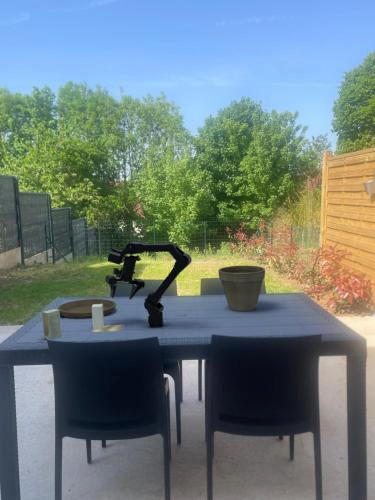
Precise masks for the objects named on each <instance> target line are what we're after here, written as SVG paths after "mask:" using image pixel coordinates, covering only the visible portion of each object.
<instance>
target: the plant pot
mask: <svg viewBox="0 0 375 500" xmlns="http://www.w3.org/2000/svg"><path fill="white" fill-rule="evenodd" d="M265 277H266V268H264V267H263V266H258V265H257V266H256V265H230V266H224V267H221V268H219V269H218V279H219V280H220V281H221V285H222V288H223V289H222V290H223V292H224V296H225V300H226V302H227V306H228V308H229V309H230V310H231V311H235V312H250V311H253V310H256V309H257V307H258V302H259V298H260V295H261V290H262V285H263V283H264V282H263V281H264V279H265Z"/></svg>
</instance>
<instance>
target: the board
mask: <svg viewBox="0 0 375 500" xmlns="http://www.w3.org/2000/svg"><path fill="white" fill-rule="evenodd" d="M125 326H126V325H125V324H107V325H105V324H104V327H103V329H93V328H92V330H91V332H92V333H97V332H100V333H101V332H102V333H103V332H104V333H105V332H122V331H123V330H124V328H125Z"/></svg>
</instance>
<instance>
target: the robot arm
mask: <svg viewBox="0 0 375 500" xmlns="http://www.w3.org/2000/svg"><path fill="white" fill-rule="evenodd" d="M141 253H142V254H143V253H169V254H170V255H171V257H172V258H173V260H175V262H174V263H173V267H172V269H171V270H170V272H169V273H168V274H167V276H166V277H165V278H164V280H163V281H162V282H161V283H160V285H159V286H158V288H157V289H156V290H155V291H154V290H152V291H151V292H149V293H148V294H147V297H146V298H145V299H144V303H143V307H144V309H145V310H146V311H147V314H148V316H147V319H148V320H147V323H148V327H149V328H162V327H164V324H165V323H164V312H163V311H164V308H165V306H164V305H163V304H162V303H161V301H162V299H163V296H164V294H165V293H166V292H167V291H168V290H169V288H170V287H171V285H173V283H174V281H175V280H176V279H177V278H178V276H179V275H180V273H182V272H183V271H184V270H185V269H186V268H188V266H190V265H191V263H192V261H193V260H192V256H191V255H190V254H189V253H185V251H184V250H183V249H181V248H180V247H178V246H177V245H176V244H175V243H174V242H169V243H146V242H141V241H132V242H128V243H126V246H125V248H124V249H122V250H120V249H117V248H115V247H113V248H111V250H110V252H109V255H108V256H107V262H108V263H111V264H115V265H122V266H121V267H120V269H119V268H118V267H113V269H112V275H106V276H105V278H104V281H105V282H106V283H107V284H108V286H109V287H110V294H111V295H110V296H111V298H112V299H114V297H115V293H116V291H117V287H118V286H117V284H118V283H119V284H127V285H131V291H130V294H129V297H128V298H129V300H132V299H133V297H134V296H135V295H136V294H137V293H138V292H139V291H140V290H142V289H145V286H146V282H145V281H144V280H143V279H141V278H134V279H133V277H134V274H135V273H136V272H135V270H136V269H135V268H136V264H137V262H140V261H142V257H140V255H139V254H141ZM137 254H138V255H137Z"/></svg>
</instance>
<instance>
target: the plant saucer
mask: <svg viewBox="0 0 375 500" xmlns="http://www.w3.org/2000/svg"><path fill="white" fill-rule="evenodd" d="M93 304H103V317H105V316H107V315H110V314H112V312H113V310H115V308H116V306H117V303H116V301H113V300H110V299H105V298H104V299H103V298H86V299H78V300H73V301H68V302H65V303H62V304H60V305H58V307H57V310H59V312H60V314H61V315H62V316H63V317H64V318H66V319H88V318H92V306H93Z"/></svg>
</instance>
